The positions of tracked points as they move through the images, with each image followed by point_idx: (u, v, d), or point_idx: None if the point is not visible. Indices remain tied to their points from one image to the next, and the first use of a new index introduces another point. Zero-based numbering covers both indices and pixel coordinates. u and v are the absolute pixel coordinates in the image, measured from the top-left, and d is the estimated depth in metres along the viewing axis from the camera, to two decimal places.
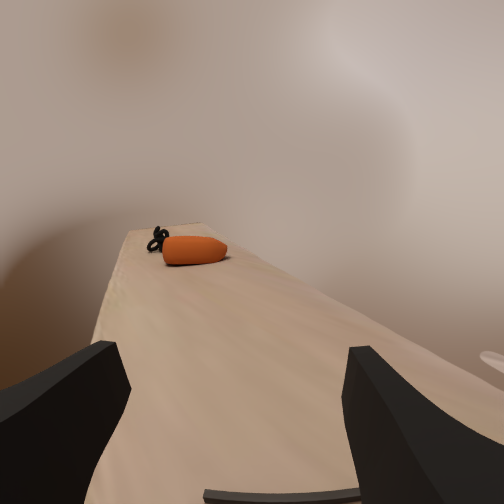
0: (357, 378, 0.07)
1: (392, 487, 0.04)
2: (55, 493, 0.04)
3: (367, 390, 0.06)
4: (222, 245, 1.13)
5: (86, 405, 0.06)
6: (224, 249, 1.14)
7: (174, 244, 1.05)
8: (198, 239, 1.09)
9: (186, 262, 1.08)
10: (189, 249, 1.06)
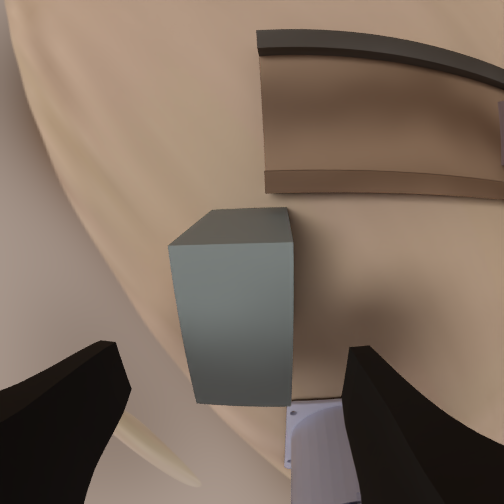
0: (357, 378, 0.07)
1: (392, 487, 0.04)
2: (55, 493, 0.04)
3: (367, 390, 0.06)
4: None
5: (86, 405, 0.06)
6: None
7: None
8: None
9: None
10: None
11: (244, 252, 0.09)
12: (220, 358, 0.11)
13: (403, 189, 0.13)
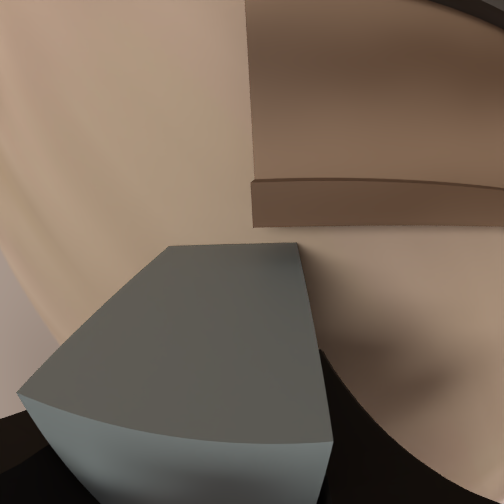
0: None
1: None
2: None
3: None
4: None
5: None
6: None
7: None
8: None
9: None
10: None
11: (184, 452, 0.03)
12: None
13: (495, 219, 0.06)
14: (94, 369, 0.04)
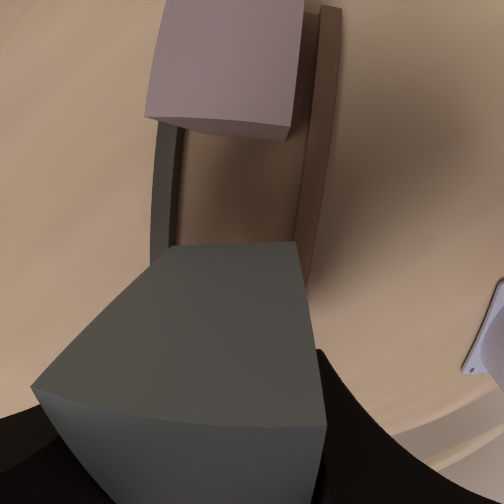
0: None
1: (317, 498, 0.04)
2: None
3: None
4: None
5: None
6: None
7: None
8: None
9: None
10: None
11: (190, 437, 0.03)
12: None
13: None
14: (104, 363, 0.04)
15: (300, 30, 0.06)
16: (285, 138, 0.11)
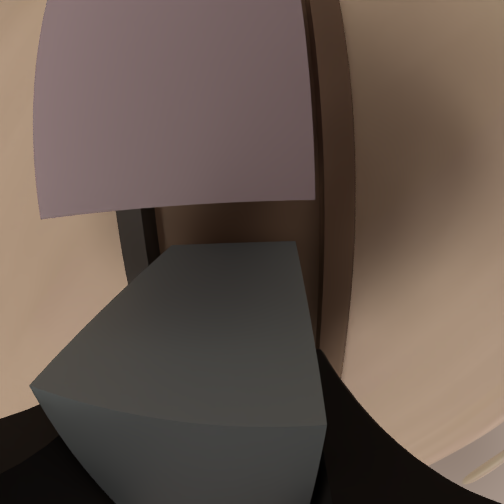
0: None
1: (317, 498, 0.04)
2: None
3: None
4: None
5: None
6: None
7: None
8: None
9: None
10: None
11: (190, 437, 0.03)
12: None
13: None
14: (104, 362, 0.04)
15: None
16: None
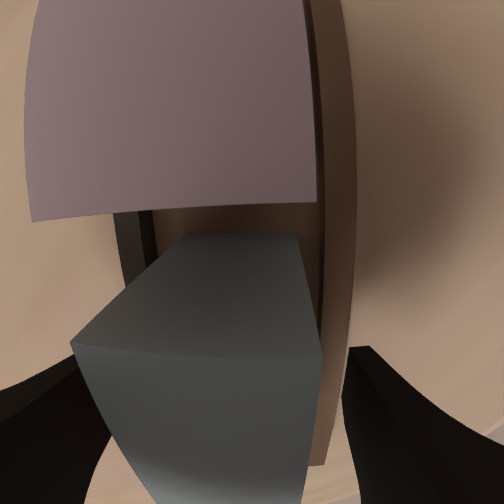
0: (357, 378, 0.07)
1: (392, 487, 0.04)
2: (55, 493, 0.04)
3: (367, 390, 0.06)
4: None
5: (86, 405, 0.06)
6: None
7: None
8: None
9: None
10: None
11: (213, 373, 0.04)
12: (188, 489, 0.05)
13: (336, 382, 0.11)
14: (137, 321, 0.05)
15: None
16: None
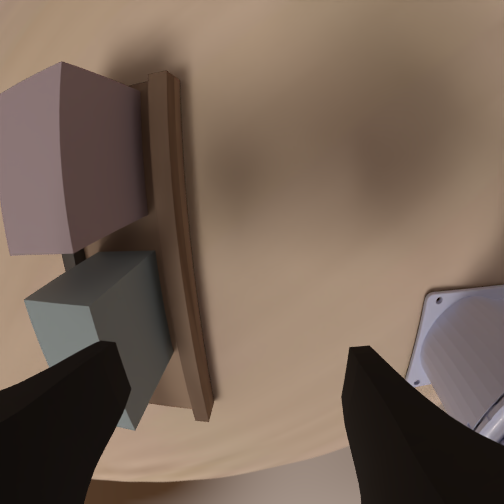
0: (357, 378, 0.07)
1: (392, 487, 0.04)
2: (55, 493, 0.04)
3: (367, 390, 0.06)
4: None
5: (86, 405, 0.06)
6: None
7: None
8: None
9: None
10: None
11: (62, 310, 0.10)
12: None
13: (190, 350, 0.17)
14: (48, 292, 0.11)
15: (61, 172, 0.08)
16: (126, 225, 0.13)
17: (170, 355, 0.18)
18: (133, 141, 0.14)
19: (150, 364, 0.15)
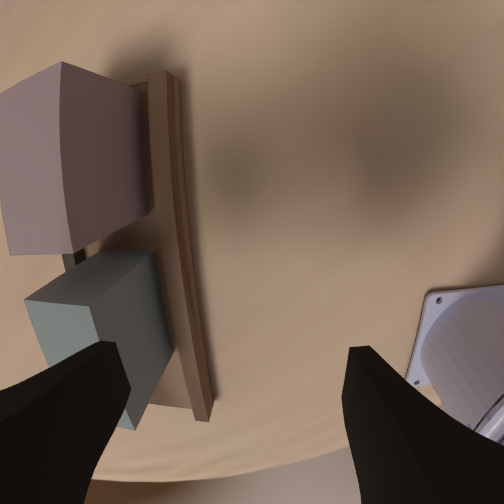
0: (357, 378, 0.07)
1: (392, 487, 0.04)
2: (55, 493, 0.04)
3: (367, 390, 0.06)
4: None
5: (86, 405, 0.06)
6: None
7: None
8: None
9: None
10: None
11: (62, 310, 0.10)
12: None
13: (190, 350, 0.17)
14: (48, 292, 0.11)
15: (61, 172, 0.08)
16: (126, 225, 0.13)
17: (170, 355, 0.18)
18: (133, 141, 0.14)
19: (150, 364, 0.15)
